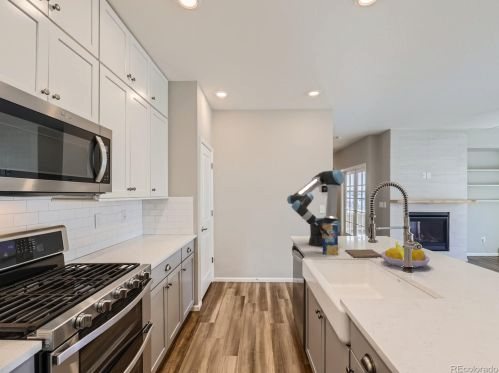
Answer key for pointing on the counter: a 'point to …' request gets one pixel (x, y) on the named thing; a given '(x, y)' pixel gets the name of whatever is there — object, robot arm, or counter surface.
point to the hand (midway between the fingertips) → (329, 237)
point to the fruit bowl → (397, 256)
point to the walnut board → (363, 253)
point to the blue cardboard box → (330, 245)
